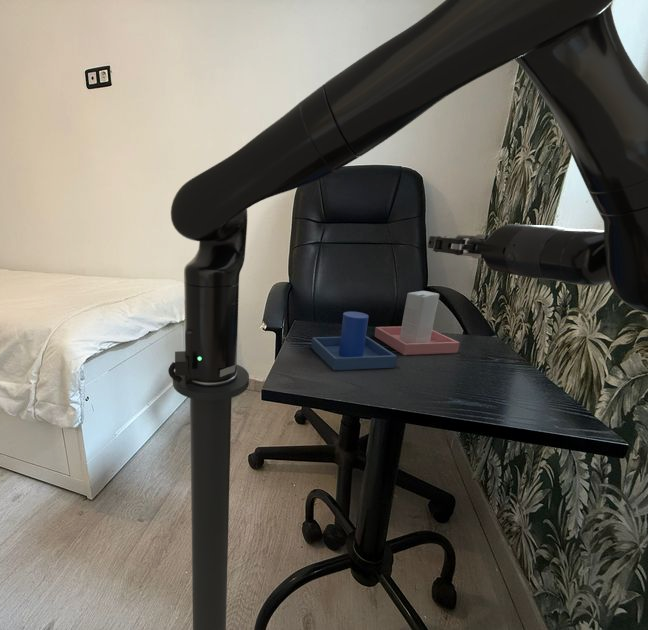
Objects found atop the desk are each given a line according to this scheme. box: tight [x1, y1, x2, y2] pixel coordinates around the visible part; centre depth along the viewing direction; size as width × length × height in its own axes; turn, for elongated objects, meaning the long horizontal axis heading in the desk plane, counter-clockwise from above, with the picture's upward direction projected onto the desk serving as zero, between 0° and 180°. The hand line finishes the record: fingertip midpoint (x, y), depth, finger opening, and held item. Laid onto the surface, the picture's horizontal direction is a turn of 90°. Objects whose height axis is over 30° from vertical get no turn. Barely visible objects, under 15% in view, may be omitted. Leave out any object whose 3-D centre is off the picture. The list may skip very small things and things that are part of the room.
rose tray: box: [374, 325, 460, 356], centre depth 85 cm, size 13×12×2 cm
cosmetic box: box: [399, 290, 440, 344], centre depth 83 cm, size 6×4×12 cm
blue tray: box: [310, 335, 398, 371], centre depth 76 cm, size 13×12×2 cm
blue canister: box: [339, 311, 370, 357], centre depth 75 cm, size 5×5×9 cm
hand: (449, 242), depth 68 cm, fingers open, 8 cm apart
